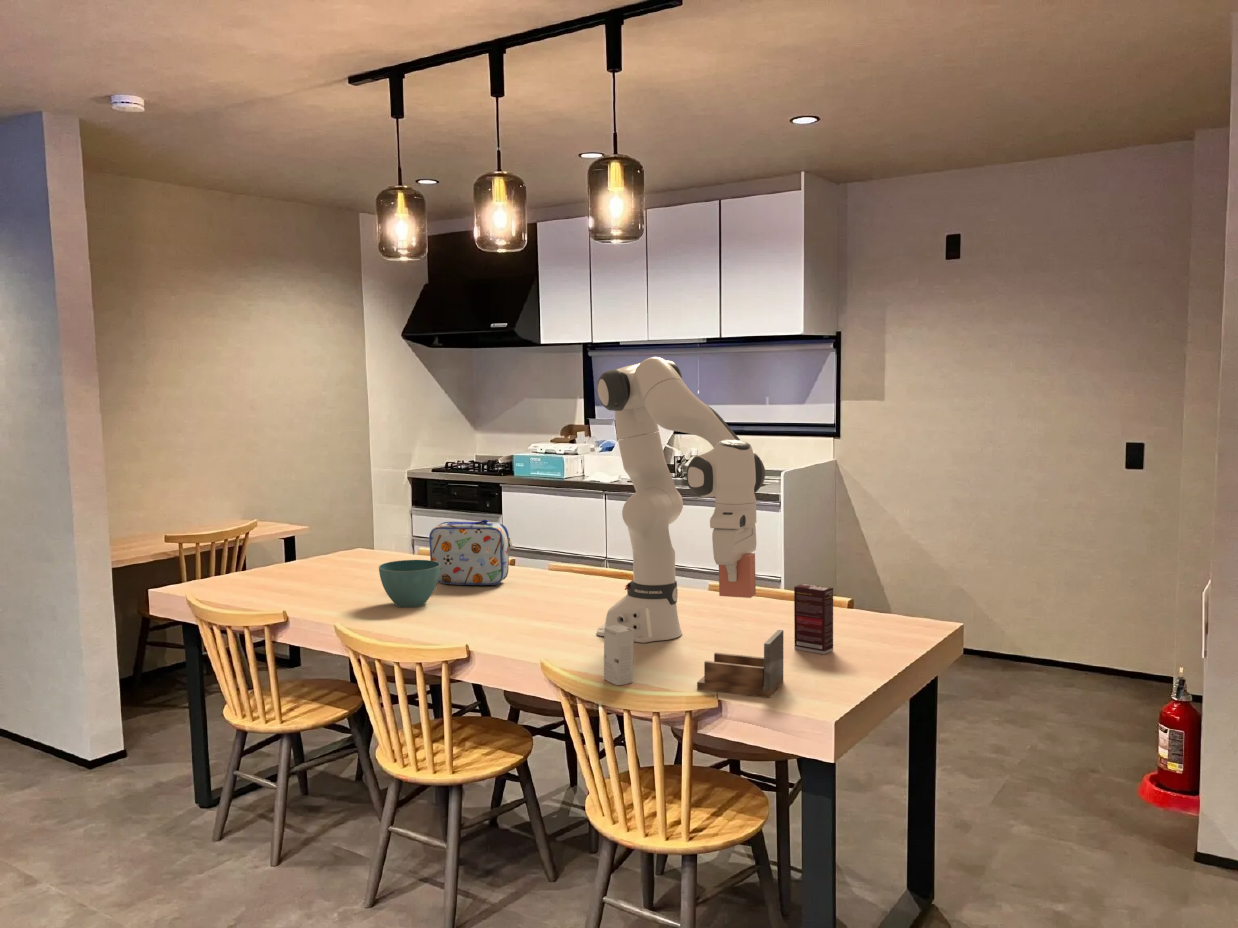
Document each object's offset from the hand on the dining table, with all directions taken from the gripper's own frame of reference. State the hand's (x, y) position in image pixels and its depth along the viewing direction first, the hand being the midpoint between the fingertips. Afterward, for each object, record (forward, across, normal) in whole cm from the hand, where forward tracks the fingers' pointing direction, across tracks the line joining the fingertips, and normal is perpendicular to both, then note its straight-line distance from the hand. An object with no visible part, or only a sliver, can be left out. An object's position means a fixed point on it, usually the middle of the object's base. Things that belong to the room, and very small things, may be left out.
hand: (736, 578), depth 206 cm
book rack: (+24, 0, 0) cm, 24 cm away
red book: (+4, 0, 0) cm, 4 cm away
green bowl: (+22, -38, -115) cm, 123 cm away
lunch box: (+22, -71, -114) cm, 136 cm away
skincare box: (+23, +7, -26) cm, 35 cm away
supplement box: (+24, -33, +9) cm, 42 cm away
